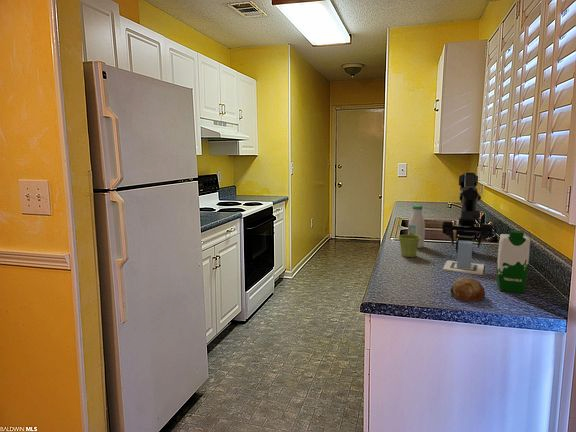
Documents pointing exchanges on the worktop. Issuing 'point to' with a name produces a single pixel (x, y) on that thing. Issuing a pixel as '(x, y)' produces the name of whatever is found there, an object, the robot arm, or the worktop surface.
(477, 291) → the bread roll
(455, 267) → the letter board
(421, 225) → the milk bottle
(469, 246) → the blue block
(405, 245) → the plant pot
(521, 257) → the milk carton
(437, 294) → the worktop surface
